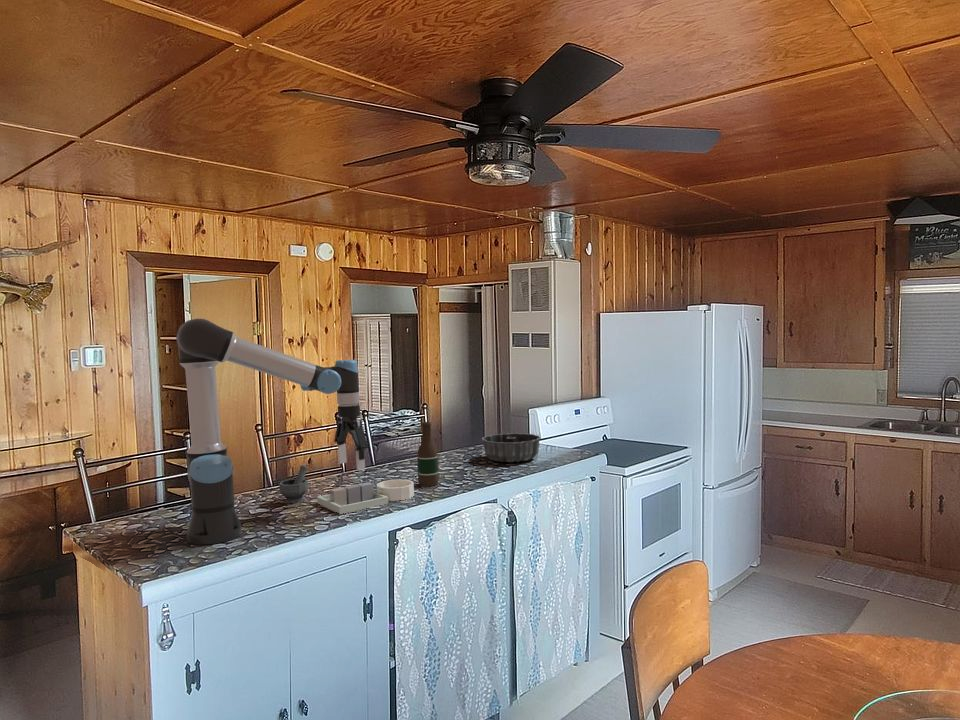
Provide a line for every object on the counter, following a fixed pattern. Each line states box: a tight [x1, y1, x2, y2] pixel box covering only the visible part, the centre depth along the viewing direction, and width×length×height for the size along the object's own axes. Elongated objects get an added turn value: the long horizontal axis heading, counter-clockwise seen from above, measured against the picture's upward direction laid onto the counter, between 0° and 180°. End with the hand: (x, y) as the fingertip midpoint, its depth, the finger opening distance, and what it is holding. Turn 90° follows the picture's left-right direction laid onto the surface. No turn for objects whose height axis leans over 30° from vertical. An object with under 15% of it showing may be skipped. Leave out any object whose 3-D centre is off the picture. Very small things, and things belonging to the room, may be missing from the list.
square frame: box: [316, 491, 389, 515], centre depth 225 cm, size 18×18×2 cm
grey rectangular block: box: [343, 484, 361, 505], centre depth 225 cm, size 4×3×6 cm
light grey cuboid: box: [356, 482, 375, 502], centre depth 228 cm, size 4×3×6 cm
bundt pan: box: [481, 432, 541, 463], centre depth 292 cm, size 26×26×10 cm
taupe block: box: [329, 486, 347, 506], centre depth 222 cm, size 4×3×6 cm
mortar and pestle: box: [278, 464, 309, 504], centre depth 231 cm, size 11×9×12 cm
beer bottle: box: [416, 421, 439, 487], centre depth 249 cm, size 8×8×24 cm
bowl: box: [376, 478, 415, 502], centre depth 233 cm, size 13×13×4 cm
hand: (351, 466), depth 225 cm, fingers open, 13 cm apart
